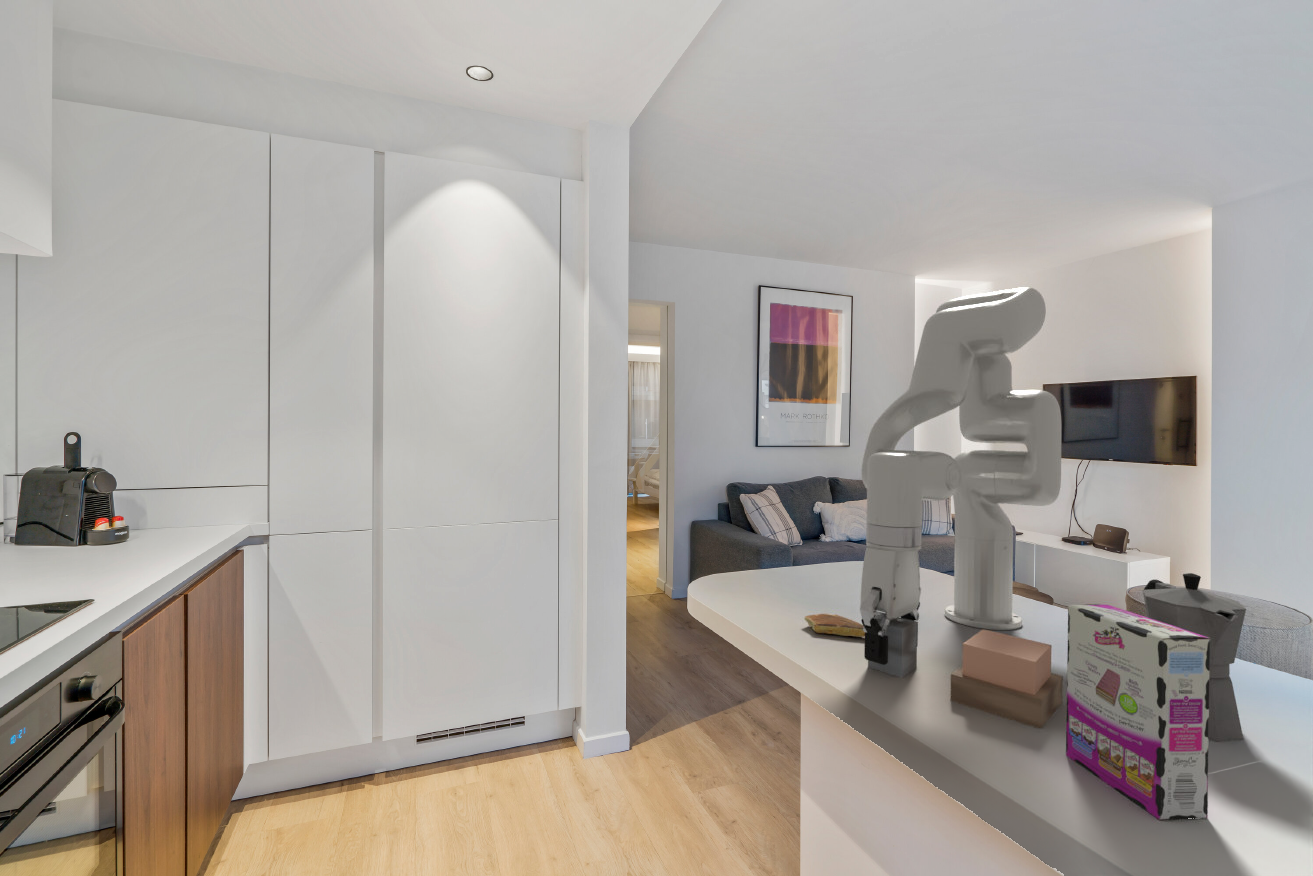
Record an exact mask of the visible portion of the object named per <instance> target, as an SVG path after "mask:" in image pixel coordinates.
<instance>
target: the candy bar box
mask: <svg viewBox="0 0 1313 876" xmlns="http://www.w3.org/2000/svg"><path fill="white" fill-rule="evenodd" d="M1066 654H1067V657H1066V658H1067V659H1066V660H1067V661H1066V664H1067V665H1066V719H1065V720H1066V721H1065V723H1066V724H1065V726H1066V727H1065V728H1066V729H1065V733H1066V735H1065V736H1066V737H1065V739H1066V741H1065V755H1066V757H1068V758H1069V759H1070V760H1072V761H1074V763H1076V764H1078V765H1079V766H1080V767H1082V768H1084V770H1087V771H1088V772H1090V773H1091V774H1092V775H1093V776H1095V777H1096V778H1098V779H1100V780H1101V781H1103V782H1104V783H1105V784H1106V785H1109V786H1110V787H1111V788H1113V789H1115V791H1116V792H1118V793H1120V795H1122V796H1124V797H1125V798H1127V799H1129V800H1130V801H1131V802H1133V803H1134V804H1136V805H1137V806H1138V807H1140V808H1141V809H1143V811H1146V812H1147V813H1148V814H1150V815H1152V816H1153V817H1155V818H1156V819H1157V820H1159V821H1165V822H1167V820H1169V821H1183V820H1182V819H1187V820H1189V819H1188V818H1192V819H1191V820H1196V819H1195V818H1207V819H1208V818H1209V816H1208V813H1209V812H1208V808H1209V807H1208V806H1209V805H1208V804H1209V801H1208V800H1209V799H1208V798H1209V797H1208V796H1209V791H1208V790H1209V785H1208V784H1209V783H1208V782H1209V744H1210V743H1209V741H1210V740H1209V738H1208V719H1209V665H1210V663H1209V660H1210V638H1209V637H1205V636H1202V635H1199V634H1196V633H1193V632H1190V631H1187V630H1184V629H1181V628H1178V627H1175V626H1172V625H1169V624H1166V623H1163V622H1160V621H1157V620H1154V619H1150V618H1147V616H1143V615H1141V614H1138V613H1135V612H1131V611H1128V610H1125V609H1122V608H1119V607H1116V606H1113V605H1109V604H1099V603H1097V604H1096V603H1094V604H1093V603H1091V604H1090V603H1087V604H1068V605H1067V653H1066ZM1193 818H1194V819H1193ZM1179 819H1181V820H1179Z"/></svg>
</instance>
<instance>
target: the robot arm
mask: <svg viewBox="0 0 1313 876" xmlns="http://www.w3.org/2000/svg"><path fill="white" fill-rule="evenodd" d="M1046 309H1047V308H1046V302H1045V299H1044V297H1043V296H1042V294H1041V293H1040V291H1038V289H1035V288H1033V287H1029V286H1028V287H1027V286H1026V287H1025V286H1024V287H1017V288H1012V289H1011V288H1010V289H1004V290H998V291H993V292H992V291H991V292H987V293H978V294H971V295H966V296H961V297H958V298H956V297H955V298H953V299H950V300H948V301H945V302H944V303H942V304H940V305H939V306H938V307H937V309H936V310H935V313H934V314H932V315H931V316H930V317H929V318H928V319H927V321H925V324H924V326H923V329H922V334H921V338H920V342H919V347H918V350H917V355H916V358H915V362H914V367H913V370H912V374H911V380H910V384H909V386H908V388H907V390H906V391H905V392H904V393H902V395H900V396H899V397H898V398H897V399H896V400H895V401H893V402H892V403H891V404H890V405H889V406H888V407H887V408H886V410H884V412H883V413H882V414H881V415H880V416H879V417H878V419H877V420H876V421H875V423H874V424H873V426H872V427H871V429H870V433H869V434H868V437H867V441H866V444H865V445H866V446H865V449H864V453H863V458H862V465H861V480H862V483H863V485H864V488H866V526H865V527H866V528H865V529H866V534H865V535H866V536H865V537H866V538H865V540H866V542H865V543H866V548H865V552H864V557H863V564H862V572H861V573H862V574H861V582H860V583H861V584H860V602H859V603H860V604H859V605H860V606H859V612H860V616H861V624H862V625H863V631H864V632H865V637H864V650H863V651H864V659H865V660H866V661H868V660H869V661H872V662H876V663H879V664H882V665H885V664H887V663H888V636H887V635H885V633H886V630H887V628H888V625H889V622H890V620H894V619H896V618H898V617H900V618H904V619H908V620H913V621H917V647H918V643H919V642H918V640H919V638H918V636H919V619H920V613H919V609H920V606H921V602H920V598H921V594H922V587H921V583H920V582H921V578H920V577H921V576H920V574H921V571H920V557H919V556H920V555H919V550H922V542H923V541H922V534H923V533H922V532H923V531H922V530H923V526H922V525H923V524H922V523H923V501H930V502H939V501H944V500H947V499H950V498H951V497H952V498H953V505H954V506H953V508H954V570H953V571H954V577H953V580H954V581H953V583H954V584H953V585H954V587H953V594H954V595H953V596H954V597H953V604H952V605H948V606H946V607H945V608H944V615H945V617H946V618H947V619H949V620H951V621H952V622H955V623H957V624H961V625H963V626H967V627H972V628H976V629H981V630H983V629H984V630H989V631H993V630H994V631H1013V630H1017V629H1020V628H1021V627H1022V626H1023V619H1022V617H1021V616H1019V614H1017V613H1014V612H1013V587H1014V586H1013V585H1014V584H1013V577H1014V572H1013V571H1014V564H1013V563H1014V529H1013V528H1014V527H1013V525H1012V524H1013V523H1012V522H1011V520H1010V518H1009V517H1008V516H1007V514H1006V513H1005V511H1004V510H1003V509H1002V507H1001V506H1000V504H1003V505H1005V504H1006V505H1007V504H1008V505H1010V504H1011V505H1019V506H1020V505H1021V506H1031V507H1044V506H1050V505H1052V504H1053V503H1055V501H1057V499H1058V497H1059V495H1060V491H1061V486H1062V485H1061V484H1062V483H1061V482H1062V414H1061V408H1060V404H1059V402H1058V400H1057V398H1056V397H1055V395H1054V394H1053V393H1051V392H1049V391H1046V390H1041V389H1025V390H1024V389H1020V390H1013V384H1012V383H1013V382H1012V381H1013V378H1012V377H1013V375H1012V373H1013V372H1012V369H1013V368H1012V362H1011V360H1010V359H1009V357H1008V354H1012V353H1015V352H1017V351H1018V350H1020V349H1021V348H1023V347H1024V346H1025V345H1026V344H1027V343H1029V341H1031V340H1032V339H1033V338H1034V337H1036V335H1038V333H1040V331H1041V330H1042V327H1043V325H1044V322H1045V320H1046ZM956 408H959V412H958V413H959V417H958V418H959V429H960V433H961V436H962V437H963V438H964V439H966V440H967V441H968V442H969V441H970V442H974V443H980V444H981V443H983V444H984V443H985V444H1021V445H1024V446H1025V447H1026V449H1027V451H1022V450H1019V451H1017V450H1014V451H1013V450H1012V451H1011V450H995V449H994V450H993V449H991V450H990V449H989V450H988V449H987V450H985V449H984V450H982V449H980V450H979V449H978V450H974V449H973V450H968V451H964V452H961V453H960V454H958V455H956V456H955V457H952V456H951V455H949V454H947V453H944V452H940V451H932V450H931V451H930V450H929V451H927V450H926V451H924V450H904V449H903V450H901V449H899V450H898V449H896V446H897V445H898V443H899V441H900V440H901V439H902V437H903V436H905V435H906V434H907V433H908V432H909V431H911V430H912V429H914V428H915V427H917V426H920V425H922V424H923V423H925V422H927V421H930V420H932V419H934V418H936V417H937V418H938V417H939V416H941V415H944V414H946V413H948V412H950V411H953V410H954V409H956ZM875 618H877V619H881V620H882V621H881V624H880V625H879V623H878V621H877V620H876V619H875Z"/></svg>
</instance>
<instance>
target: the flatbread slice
mask: <svg viewBox="0 0 1313 876" xmlns="http://www.w3.org/2000/svg"><path fill="white" fill-rule="evenodd" d="M804 620H805V621H806V623H807V624H808V626H810V627H811V629H812V630H813V631H814V632H815V633H817V634H827V635H838V636H841V637H842V636H844V637H849V636H850V637H856V638H857V637H858V638H862V637H863V638H865V632H864V631H863V624H862V623H859V622H857V621H854V620H853V619H849V618H847V617H844V616H841V615H838V614H829V613H819V614H818V613H816V614H811V615H809V614H808V615H806V616H804Z"/></svg>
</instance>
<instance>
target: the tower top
mask: <svg viewBox="0 0 1313 876" xmlns="http://www.w3.org/2000/svg"><path fill="white" fill-rule="evenodd" d="M1052 647H1053V646H1052V644H1049V643H1044V642H1039V641H1036V640H1032V639H1026V638H1023V637H1019V636H1018V637H1017V636H1014V635H1011V634H1010V635H1009V634H1006V633H1001V632H997V631H993V630H990V629H981V630H979V632H977V633H976V634H974V635H973V636H972V637H969V639H967V640H966V641H964V642H963V643H962V662H961V663H962V675H965V676H969V677H972V678H976V679H979V680H983V681H986V682H990V683H993V684H997V685H1000V686H1004V687H1007V688H1011V689H1014V690H1018V691H1022V692H1025V693H1029V694H1033V695H1035V694H1036V693H1037V692H1038V691H1039V689H1040V688H1041V687H1042V686H1043V685H1044V683H1045V682H1046V681H1047V680H1048V679H1049V678H1050V676H1051V673H1052V649H1053V648H1052Z"/></svg>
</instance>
